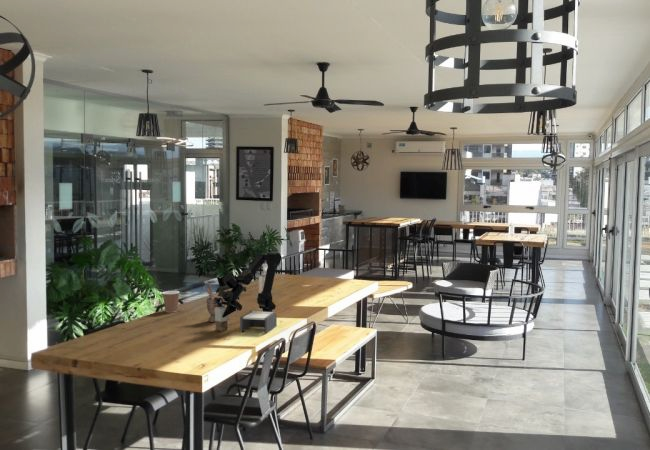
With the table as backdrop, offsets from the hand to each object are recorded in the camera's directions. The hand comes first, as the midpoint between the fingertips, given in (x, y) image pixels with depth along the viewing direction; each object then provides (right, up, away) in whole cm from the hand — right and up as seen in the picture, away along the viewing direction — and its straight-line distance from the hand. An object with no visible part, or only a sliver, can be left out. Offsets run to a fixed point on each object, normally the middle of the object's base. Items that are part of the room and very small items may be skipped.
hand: (219, 316), depth 337 cm
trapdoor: (+21, -2, +3) cm, 21 cm away
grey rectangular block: (+1, -2, +1) cm, 3 cm away
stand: (+1, -7, +2) cm, 8 cm away
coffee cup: (-38, -4, +50) cm, 63 cm away
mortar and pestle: (-8, -6, +24) cm, 26 cm away
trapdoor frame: (+21, -7, +3) cm, 22 cm away
